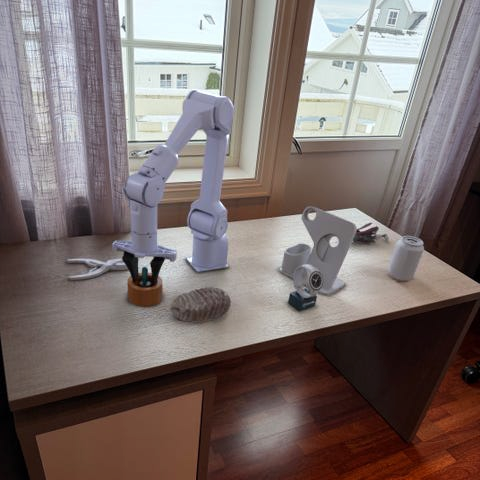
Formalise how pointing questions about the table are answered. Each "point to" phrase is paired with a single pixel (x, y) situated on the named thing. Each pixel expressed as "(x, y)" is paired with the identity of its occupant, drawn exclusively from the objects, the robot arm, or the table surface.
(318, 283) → the watch
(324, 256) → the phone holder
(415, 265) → the can
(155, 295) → the orange flowerpot
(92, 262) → the pliers
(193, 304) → the seashell
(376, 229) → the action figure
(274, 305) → the table surface
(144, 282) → the brush
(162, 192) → the robot arm
